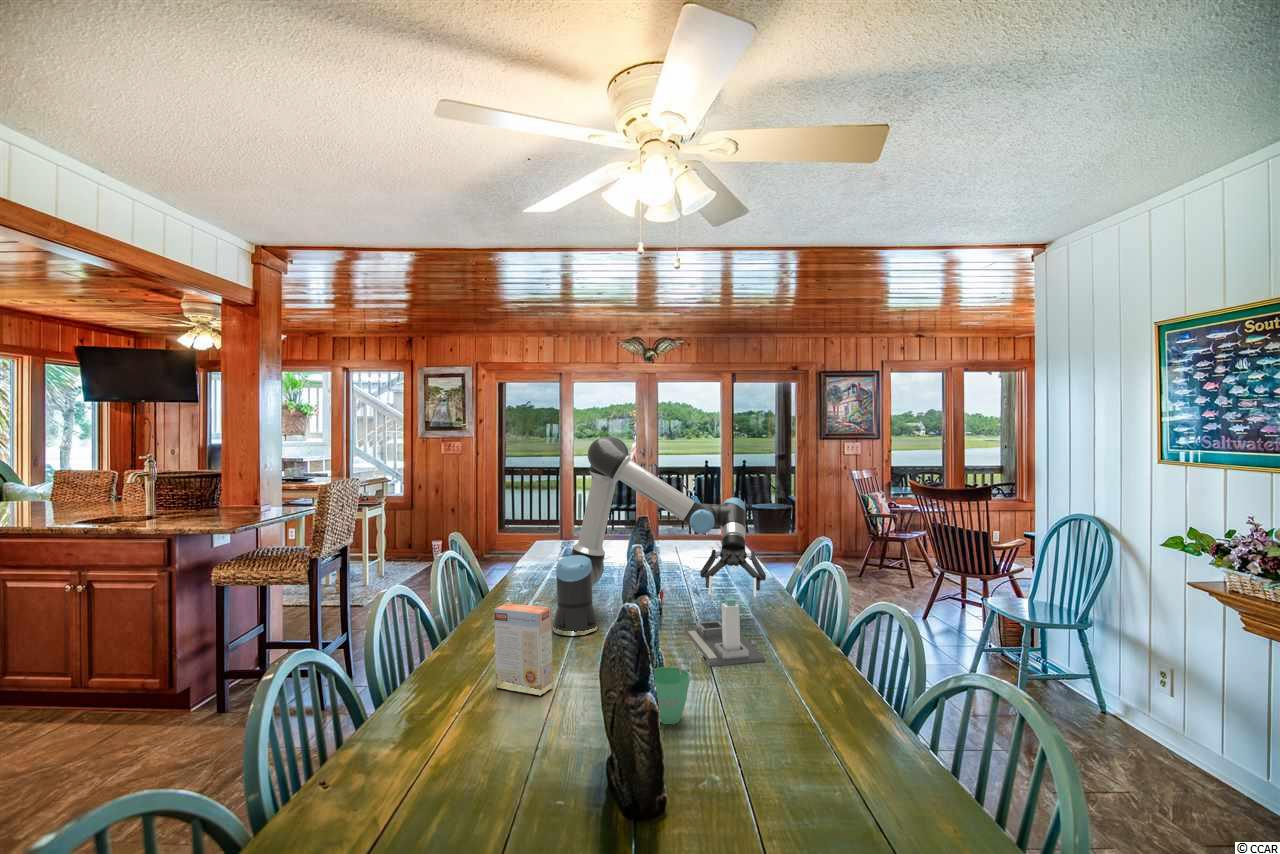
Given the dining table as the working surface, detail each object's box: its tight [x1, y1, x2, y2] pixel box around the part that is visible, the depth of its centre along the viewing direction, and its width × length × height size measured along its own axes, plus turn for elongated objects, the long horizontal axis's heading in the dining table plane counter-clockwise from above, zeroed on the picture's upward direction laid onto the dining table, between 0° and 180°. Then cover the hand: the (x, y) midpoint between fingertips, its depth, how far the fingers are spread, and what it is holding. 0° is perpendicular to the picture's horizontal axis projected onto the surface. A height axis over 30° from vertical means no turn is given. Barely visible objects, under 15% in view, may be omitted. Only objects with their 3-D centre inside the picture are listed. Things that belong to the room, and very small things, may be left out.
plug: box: [721, 597, 741, 651], centre depth 175 cm, size 4×4×16 cm
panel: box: [683, 620, 766, 667], centre depth 184 cm, size 16×30×3 cm, turn 10°
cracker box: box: [493, 602, 554, 690], centre depth 157 cm, size 14×6×21 cm, turn 65°
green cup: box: [653, 666, 691, 725], centre depth 138 cm, size 15×10×10 cm
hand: (732, 598), depth 186 cm, fingers open, 13 cm apart
